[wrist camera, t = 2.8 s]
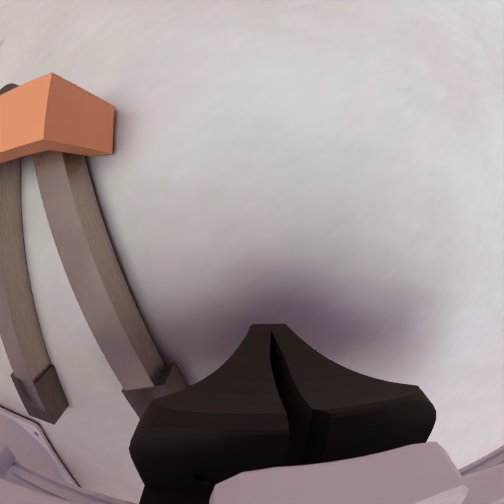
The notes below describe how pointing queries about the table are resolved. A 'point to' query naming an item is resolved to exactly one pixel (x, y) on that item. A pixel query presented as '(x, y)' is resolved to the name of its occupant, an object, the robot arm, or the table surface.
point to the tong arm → (101, 280)
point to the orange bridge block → (54, 120)
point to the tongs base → (23, 307)
